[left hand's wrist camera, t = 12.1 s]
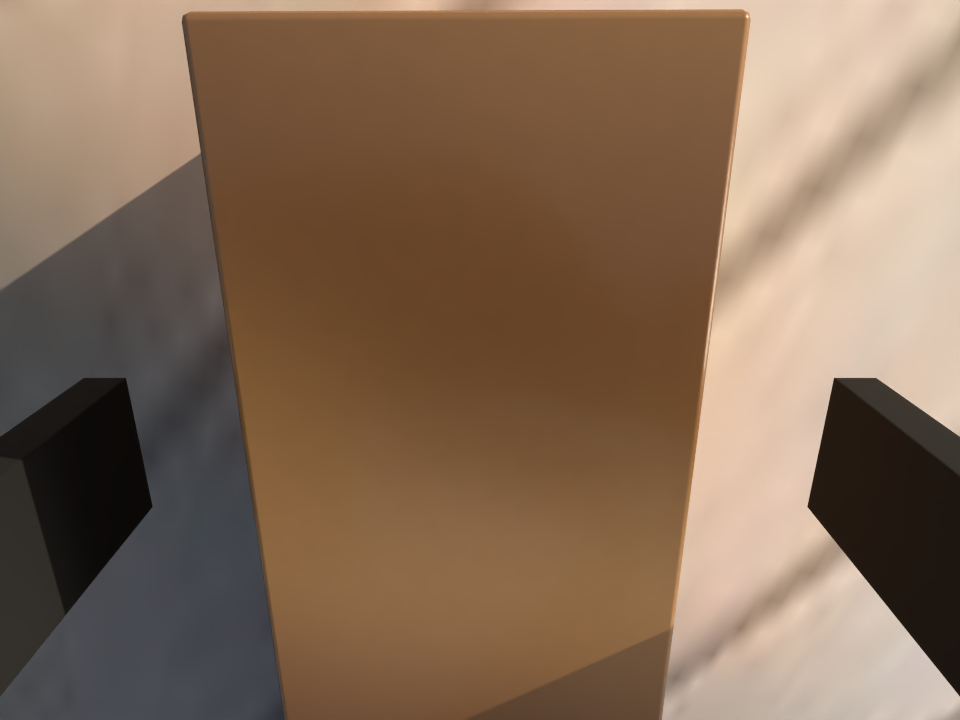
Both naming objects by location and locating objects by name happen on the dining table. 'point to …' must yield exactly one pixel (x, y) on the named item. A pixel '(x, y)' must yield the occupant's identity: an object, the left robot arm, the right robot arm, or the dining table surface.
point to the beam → (469, 341)
